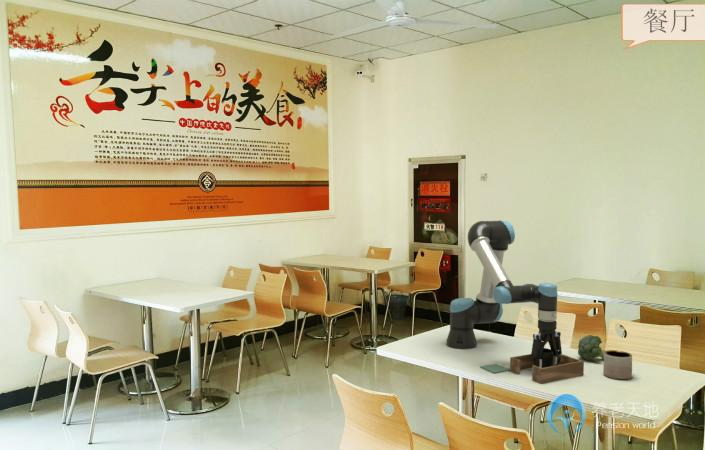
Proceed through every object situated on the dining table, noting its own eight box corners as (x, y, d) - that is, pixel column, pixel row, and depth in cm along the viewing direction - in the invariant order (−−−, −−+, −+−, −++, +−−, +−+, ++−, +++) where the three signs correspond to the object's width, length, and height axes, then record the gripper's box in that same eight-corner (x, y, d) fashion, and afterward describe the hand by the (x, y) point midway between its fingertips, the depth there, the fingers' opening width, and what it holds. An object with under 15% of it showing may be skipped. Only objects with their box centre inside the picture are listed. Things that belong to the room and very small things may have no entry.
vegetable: (617, 361, 245) (586, 345, 245) (599, 374, 254) (570, 359, 254) (616, 340, 254) (587, 325, 254) (599, 353, 263) (571, 339, 263)
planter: (597, 373, 234) (597, 351, 234) (616, 370, 238) (616, 349, 238) (618, 381, 224) (619, 358, 224) (637, 378, 228) (638, 355, 228)
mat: (480, 367, 243) (480, 366, 242) (496, 364, 246) (496, 363, 246) (493, 373, 234) (493, 372, 234) (510, 370, 238) (510, 369, 238)
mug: (553, 378, 228) (554, 356, 227) (528, 371, 237) (529, 349, 237) (564, 374, 233) (565, 352, 232) (539, 367, 242) (540, 346, 242)
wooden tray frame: (510, 371, 238) (510, 357, 237) (550, 363, 248) (551, 350, 248) (541, 383, 222) (541, 369, 221) (583, 375, 232) (583, 361, 232)
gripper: (535, 324, 226) (534, 378, 227) (572, 319, 235) (570, 371, 236) (522, 320, 232) (521, 373, 234) (558, 315, 242) (557, 366, 243)
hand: (546, 372), depth 235 cm, fingers closed on mug, 8 cm apart
